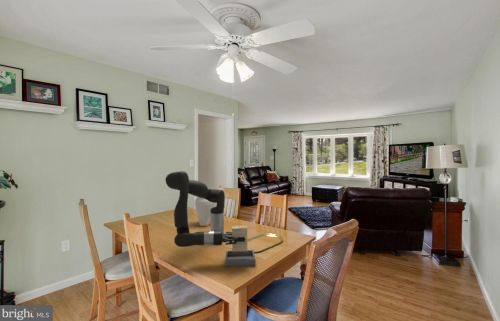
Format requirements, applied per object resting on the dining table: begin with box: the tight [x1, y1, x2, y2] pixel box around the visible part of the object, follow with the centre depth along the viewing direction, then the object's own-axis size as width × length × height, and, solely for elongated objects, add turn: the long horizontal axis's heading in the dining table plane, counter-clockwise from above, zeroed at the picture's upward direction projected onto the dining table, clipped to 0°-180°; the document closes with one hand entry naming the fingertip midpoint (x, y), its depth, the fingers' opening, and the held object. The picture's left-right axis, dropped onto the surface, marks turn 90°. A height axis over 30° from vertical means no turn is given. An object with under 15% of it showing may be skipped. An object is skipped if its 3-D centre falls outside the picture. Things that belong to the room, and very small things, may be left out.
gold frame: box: [247, 233, 283, 254], centre depth 156 cm, size 19×35×2 cm, turn 135°
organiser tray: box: [225, 249, 256, 268], centre depth 131 cm, size 12×16×4 cm
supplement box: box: [231, 225, 248, 252], centre depth 130 cm, size 8×5×13 cm, turn 92°
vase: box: [194, 188, 214, 227], centre depth 197 cm, size 15×15×29 cm
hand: (244, 237), depth 131 cm, fingers closed on supplement box, 5 cm apart
